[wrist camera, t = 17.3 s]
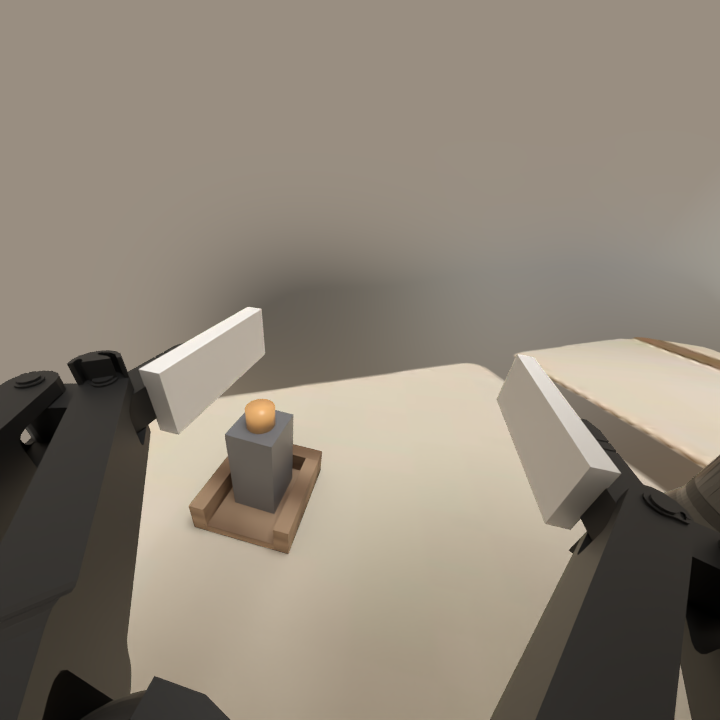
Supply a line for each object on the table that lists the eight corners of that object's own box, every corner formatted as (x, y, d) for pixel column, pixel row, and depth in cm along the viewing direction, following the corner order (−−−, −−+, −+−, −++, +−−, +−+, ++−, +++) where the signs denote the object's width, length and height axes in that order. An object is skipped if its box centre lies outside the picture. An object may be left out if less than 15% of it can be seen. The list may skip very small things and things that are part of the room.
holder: (288, 553, 27) (288, 534, 25) (194, 526, 28) (188, 505, 26) (320, 470, 35) (321, 451, 34) (248, 451, 36) (246, 432, 35)
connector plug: (274, 514, 29) (270, 430, 23) (235, 502, 29) (222, 417, 23) (292, 478, 33) (293, 399, 27) (257, 468, 33) (251, 388, 27)
